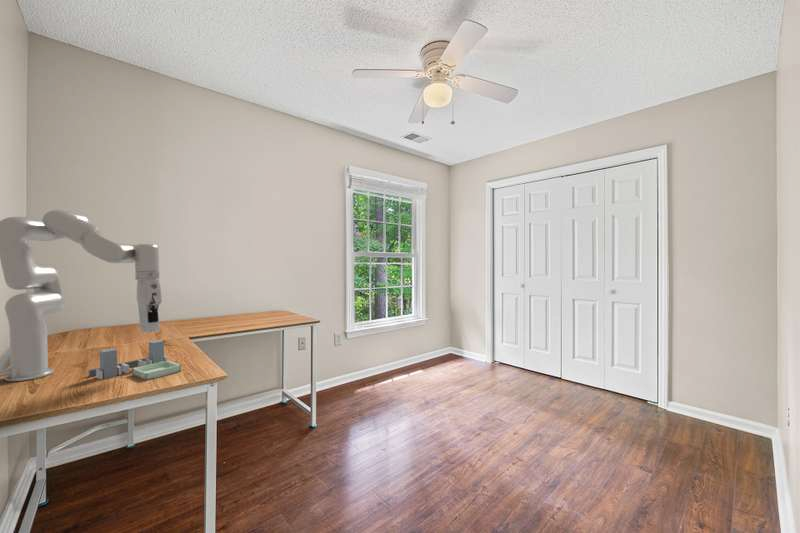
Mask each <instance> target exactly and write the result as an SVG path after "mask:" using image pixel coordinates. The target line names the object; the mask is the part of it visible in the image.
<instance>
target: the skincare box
mask: <svg viewBox="0 0 800 533" xmlns="http://www.w3.org/2000/svg"><path fill="white" fill-rule="evenodd" d="M151 304H154V303H151ZM137 307H138V316H139V326H140V332H141V333H147V334H150V333H153V332H158V331H161V326H160V318H159V317H160V315H159V314H158V322H152V323H149V322H148V312H149V309H148V305H146V303H143V302H137ZM151 308H152V306H151Z"/></svg>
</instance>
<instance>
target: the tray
mask: <svg viewBox="0 0 800 533" xmlns="http://www.w3.org/2000/svg"><path fill="white" fill-rule="evenodd" d="M179 372H182V366H181V364H178V363H176V362H173V361H169V360H167V361H163V362H159V363H154V364H150V365H146V366H141V367H138V366H136V367H132V375H133V376H135V377H137V378H139V379H142V380H144V381H149V380H154V379H157V378H160V377H164V376H168V375H172V374H176V373H179Z"/></svg>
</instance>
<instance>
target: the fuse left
mask: <svg viewBox="0 0 800 533" xmlns="http://www.w3.org/2000/svg"><path fill="white" fill-rule="evenodd" d="M117 364H118V349H116V348H113V347H112V348H111V347H110V348H107V349H100V350H99V368H100V370H102V371H103V379H105V380H106V379H109V378H113V377H117V376H118V375H117Z"/></svg>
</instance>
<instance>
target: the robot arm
mask: <svg viewBox="0 0 800 533" xmlns="http://www.w3.org/2000/svg"><path fill="white" fill-rule="evenodd" d="M65 238H66V239H68V240H70V241H73V242H75V243H76V244H79V245H80V246H81V248H82V249H83V250H84V251H86V252H87V253H88V254H89V255H91V256H94V257H96V258H98V259H99V260H103V261H104V262H107V263H111V264H133V263H134V269H135V276H134V277H135V280H136V281H137V283H136V302H137V303H138V302H143V303H146V305H148V309H149V312H148V322H149V323H152V322H158V315H159V308H160V305H161V304H162V301H163V300H162V290H161V289H162V288H161V283H160V257H159V256H160V254H159V246H158V245H157V244H151V243H150V244H149V243H142V244H141V243H140V244H131V243H123V242H121V243H119V242H113V241H112V240H109V239H107V238H105V237H103V236H102V235H101V229H100V228H99V227H98V226H96V225H94V224H92V223H90V220H88V217H86V216H85V215H83V214H82V213H79V212H74V211H68V210H63V209H62V210H60V209H53V210H49V211H47V212H45V213H44V214H43V216H42V218H34V217H27V216H10V217H5V218H4V219H1V220H0V265H1V270H2V273H3V277H4V282H5V283H6V285H7V287H8V288H10V289H12V290H17V291H20V290H21V291H22V290H23V291H24V290H33V291H31V292H24V293H19V294H15V295H12V296H11V297H9V299H7V300H6V303H5V305H4V311H5V314H6V318H7V320H8V321H7V322H8V325H9V326H8V327H9V339H10V340H9V343H10V348H9V349H10V350H9V351H10V365H8V367H6V368H4V370H3V369H1V370H0V377H4V381H6V382H21V381H30V380H34V379H39V378H43V377H47V376H49V375H51V374H53V373H54V368H53V367H49V358H48V357H49V356H48V354H49V353H48V350H49V349H48V347H49V346H48V329H47V328H48V327H47V323H46V322H45V320H44V319H43V317H44V316H46V315H47V316H48V315H54V314H57V313H58V312H60V311H61V310H62V309H63V308H64V306H65V295H64V294H65V293H64V291H63V290H64V289H63V286H62V285H63V284H62V281H61V277H60V274H59V272H58V271H57V270H56V268H54V267H53V266H51V265H48V264H43V263H38V264H37V262H36V261H35V260H36V259H35V256H34V252H33V251H32V249H31V247H30V246H29V245H28V244H27V243H26V242H25V241H36V242H37V241H42V242H49V241H56V240H61V239H65ZM151 303H154V304H151ZM151 306H152V308H151ZM42 316H43V317H42Z"/></svg>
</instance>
